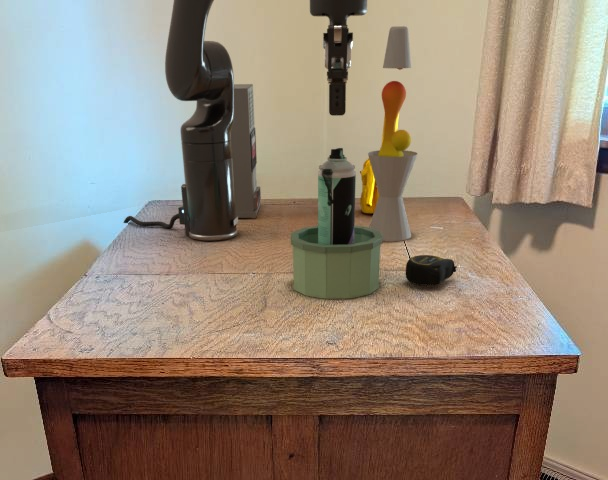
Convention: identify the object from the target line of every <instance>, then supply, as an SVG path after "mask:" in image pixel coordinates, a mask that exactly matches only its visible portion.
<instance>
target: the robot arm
mask: <svg viewBox="0 0 608 480" xmlns="http://www.w3.org/2000/svg"><path fill="white" fill-rule="evenodd" d="M214 2H215V0H173V2H172V3H173V4H172V10H171V18H170V22H169V23H170V24H169V29H168V35H167V44H166V49H165V57H164V58H165V60H164V75H165V81H166V85H167V87H168V90H169V91H170V94H171V95H172V96H173V97H174V98H175V99H176V100H177V101H180V102H196V107H195V110H194V112H193V114H192V115H191V116H190V117H189V119H187V120H186V121H185V122H183V123H182V124H181V126H180V131H179V132H180V141H181V153H182V154H181V155H182V163H183V164H182V165H183V176H184V183H183V184H181V185H180V190H181V200H182V201H181V202H182V206H179V207H177V211H178V213H176V214H174V215H172V217H171V218H170V220H169V223H167V222H164V221H158V220H157V221H156V220H155V221H141V220H139V219H137V218H136V217H134V216H132V215H128V216H127V217H125V218H124V220H123V224H128V223H129V222H130V221H131V222H132V223H134V224H135V225H138V226H140V227H161V228H162V227H163V228H165V229H167V230H170V229H173V227H174V225H175V222H176V221H177V220H178V221H179V225H182V226H184V232H185V233H184V234H185V236H186V237H189V238H190V239H193V240H197V241H208V242H209V241H222V240H223V241H225V240H229V239H232V238H234V237H236V236H238V229H237V224H238V223H239V218H238V217H237V218H236V212H235V195H234V178H233V161H232V145H231V130H232V126H233V122H234V84H235V78H234V68H233V63H232V59H231V57H230V53H229V52H228V50H227V49H226V47H225V46H224V45H223V44H222V43H220V42H219V41H215V40H205V36H206V35H205V34H206V29H207V28H206V27H207V22H208V18H209V15H210V11H211V8H212V5H213V4H214ZM367 12H368V0H309V14H310V15H311V16H312V17H326V18H328V20H329V23H328V25H327V28H326V32H323V34H322V45H323V46H322V47H323V49H324V68H325V69H326V70H327V71H326V81H327V83H328V114H329V115H330V116H333V117H334V116H336V117H338V116H339V117H341V116H344V115H345V114H346V110H347V109H346V108H347V106H346V105H347V104H346V103H347V102H346V101H347V97H346V95H347V81H349V70H348V69H350V68H351V66H352V65H351V64H352V49H353V46H354V32H350V31H349V29H350V28H348V24H347V23H348V18H350V17H360V16H361V17H362V16H365V15H366V14H367Z"/></svg>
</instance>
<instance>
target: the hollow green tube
mask: <svg viewBox="0 0 608 480" xmlns="http://www.w3.org/2000/svg"><path fill="white" fill-rule="evenodd" d="M383 242H384V241H383V237H382V235H381V232H380V231H377V230H374V229H371V228H369V226H362V225H354V244H349V245H324V244H318V225H313V226H307V227H302V228H298V229H296V230H294V231H292V232H290V245H291V246H292V268H293V269H292V270H293V271H292V273H293V290H294V291H296V292H297V293H300V294H302V295H303V296H306V297H311V298H318V299H322V300H323V299H324V300H341V299H343V300H344V299H345V300H346V299H355V298H358V297H363V296H368V295H371V294H372V293H374V292H375V291H377V290H378V289H379V287H380V267H381V265H380V262H381V245H382V244H383Z"/></svg>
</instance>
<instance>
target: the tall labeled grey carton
mask: <svg viewBox="0 0 608 480" xmlns="http://www.w3.org/2000/svg"><path fill="white" fill-rule="evenodd" d="M254 101H255V100H254V85H253V83H234V122H233V126H232V130H231V145H232V161H233V178H234V195H235V212H236V218H237V217H238V219H245V218H246V219H252V220H255V219H256V218H257V216H258V212H259V210H260V206H261V199H262V196H261V186H258V175H257V164H258V161H257V136H256V135H257V134H256V127H255V124H256V123H255V105H254V104H255V102H254Z"/></svg>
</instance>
